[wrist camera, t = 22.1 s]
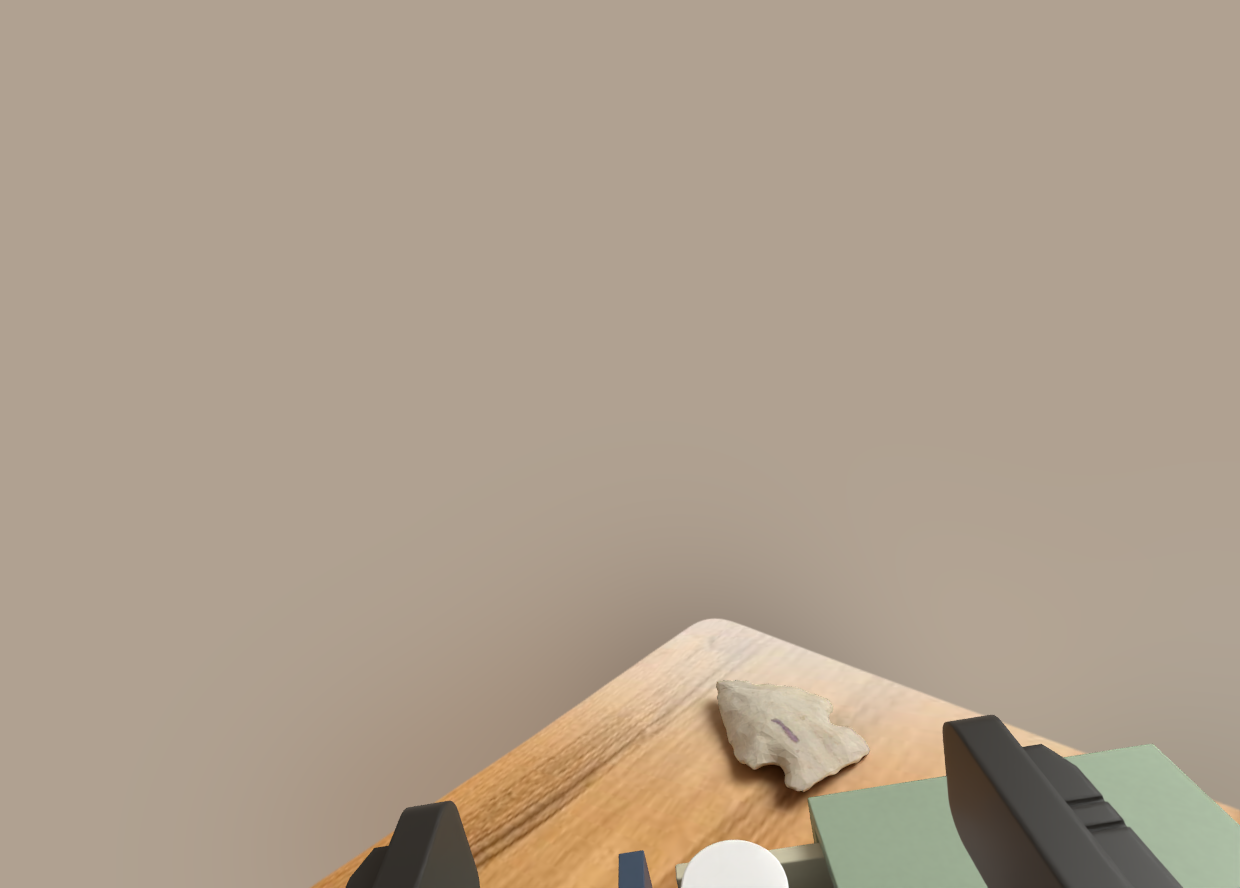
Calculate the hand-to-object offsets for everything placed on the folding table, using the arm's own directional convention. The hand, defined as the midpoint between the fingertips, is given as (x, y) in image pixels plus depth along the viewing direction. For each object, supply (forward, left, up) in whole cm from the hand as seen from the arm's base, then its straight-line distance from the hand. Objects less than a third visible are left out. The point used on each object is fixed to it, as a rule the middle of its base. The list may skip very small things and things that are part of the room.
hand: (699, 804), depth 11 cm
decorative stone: (+32, +5, -26) cm, 42 cm away
